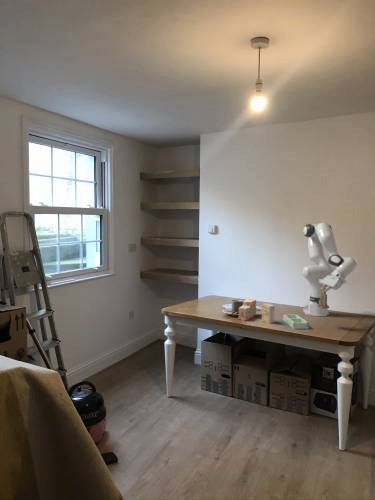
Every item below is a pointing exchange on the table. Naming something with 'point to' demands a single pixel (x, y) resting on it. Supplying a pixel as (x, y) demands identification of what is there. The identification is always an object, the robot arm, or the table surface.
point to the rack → (295, 321)
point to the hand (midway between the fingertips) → (323, 290)
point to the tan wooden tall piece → (323, 299)
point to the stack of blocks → (247, 309)
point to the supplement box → (267, 313)
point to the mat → (289, 325)
